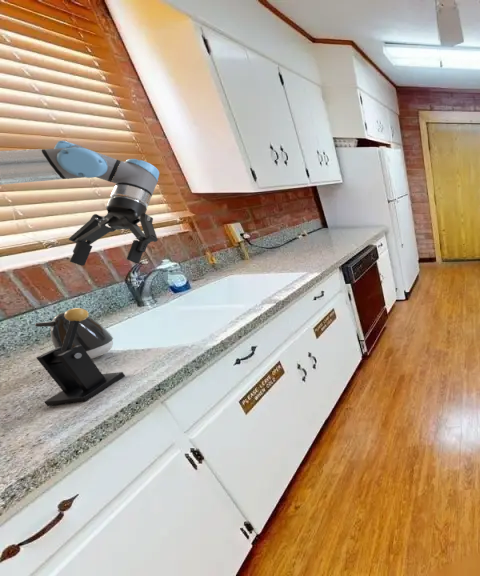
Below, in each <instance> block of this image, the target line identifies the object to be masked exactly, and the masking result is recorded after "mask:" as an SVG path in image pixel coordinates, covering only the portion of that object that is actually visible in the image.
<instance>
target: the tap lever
mask: <svg viewBox="0 0 480 576" xmlns="http://www.w3.org/2000/svg"><path fill="white" fill-rule="evenodd" d="M89 315H90V313H89V311H88V310H87V309H84V308H82V307H73V308H70V309H68V310H66V311H65V314H64V316H65V318H66V319H67V320H69V321H70V323H69V326H68V329H67V332H66V336H65V339H64V342H63V345H62V349H61V351H55V352H54V354H53V357H52V360H51V363H62V362H61V361H60V360H59V358H58V357H57V355H59V354H61V353H63V352H65V351H67V350H69V349H71V348H72V345H73V341H74V338H75V335H76V331H77V328H78V325H79V321H82V320H85V319H86V318H87V317H89Z"/></svg>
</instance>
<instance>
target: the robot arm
mask: <svg viewBox="0 0 480 576" xmlns="http://www.w3.org/2000/svg"><path fill="white" fill-rule="evenodd" d="M159 177H160V171H159V169H158V168H157V167H156V166H155V165H153V164H151V163H150V162H147V161H145V160H142V159H140V160H138V159H137V158H128V159H126V160H125V161H124V160H119V159H116V158H113V157H111V156H109V155H105V154H103V153H100V152H97V151H94V150H93V149H90V148H86V147H84V146H82V145H80V144H76V143H72V142H70V141H66V140H59V141H57V142H56V144H55V145H54V147H53V148H43V149H41V148H37V149H13V150H0V186H2V185H3V186H4V185H13V184H14V185H15V184H25V183H36V182H47V181H58V180H72V179H81V178H82V179H84V178H86V179H93V178H95V179H96V178H97V179H99V180H104V181H106V182H109V183H113V184H115V186H114V187H113V190H112V191H111V194H110V198H109V199H108V201H107V203H106V205H105V209H106V211H107V213H106V214H105V215H99V214H97V213H94V214H92V216H91V217H90V219H89V220H88V221H87V222H86V223H84V224H83V225H82V226H81V227H80V228H79V229H78V230H76V231H75V232H74V233H73V234H72V235H71V236H70V237H68V241H71V242H73V243H75V246H74V247H73V249H72V253H73V254H72V256H71V258H70V260H69V262H70V263H73V264H76V265H78V266H85V265H86V263H87V260H88V258H89V255H90V254H91V251H92V249H93V246H92V244H94V243H95V242H97V241H98V240H99V239H101V238H103V237H104V236H106V235H107V234H109V233H114V232H115V231H120V230H121V231H122V230H127V231H128V230H129V231H130V232H131V233H132V234H133V236H134V237H135V239H134V240H133V241H132V243H131V245H130V249H129V251H128V253H127V256H126V260H127V261H130V262H132V263H135V264H140V262H141V259H142V257H143V253H145V252H146V250H147V247H148V246H149V244H150V243H152V242H153V243H157V242H158V240H159V239H158V236H157V233H156V229H155V228H154V224H153V221H154V218H153V216H151V215H148V214H147V211H148V207H149V205H150V202H151V199H152V197H153V194H154V192H155V189H156V188H157V184H158V182H159ZM139 223H140V226H141V227H140V226H139V225H138V224H139ZM141 228H142V230H141Z"/></svg>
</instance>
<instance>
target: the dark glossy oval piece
mask: <svg viewBox="0 0 480 576" xmlns="http://www.w3.org/2000/svg"><path fill="white" fill-rule="evenodd" d="M65 312H66V311H65ZM65 312H61V313H59V314H56V315H55V316H54V317H53V318H52V320H50V321H42V322H35V323H34V326H35V328H36V327H37V328H39V327H50V338H51V342H52V344H53V346H54V349H55V348H57V347H62V345H63V342H64V339H65V336H66V332H67V329H68V326H69V323H70V321H69V320H67V319H66V318H65V316H64V314H65ZM113 339H114V337H113V335H112V334H111V333H110V332H109V331H108V330H107V329H106V328H105V327H104V326H103V325H101V324H100V323H99V322H97V321H96V320H95V319H93V318H91V317H89V316H88V317H87V318H86V319H85V320H82V321H79V325H78V328H77V331H76V335H75V338H74V341H73V345H72V348H73V347H75V346H79V345H82V347H83V348H84V350H85V351H86V352H87V354H88V355H89V357H90V358H91V359H92V360H93V359H95V358H98V357H101V356H103V355H105V354H107V353H108V352H109V351H110V350H111V349H112V347H113V345H114V340H113Z"/></svg>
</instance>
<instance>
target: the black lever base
mask: <svg viewBox="0 0 480 576" xmlns="http://www.w3.org/2000/svg"><path fill="white" fill-rule="evenodd" d="M61 349H62V347H57V348H55V347H54V348H52V349H51V350H49V351H47V352H44V353H43V354H40V355H39V356H37V357H36V360H37V361H38V362H39V363H40V365H41V366H42V367H43V368H44V370H45V371H46V372H47V373H48V374H49V377H51V378H52V379H53V380H54V382H55V383H56V384H57V386H58V387H59V388H60V389H61V391H60V392H58V393H56V394H54V395H53V396H51V397H49V398H48V399H46V400H44V401H43V403H44V404H45V405H46V406H47V407H53V406H54V407H55V406H63V405H64V406H65V405H71V404H80V403H86V402H88V401H89V400H91V399H93V398H94V397H96V396H97V395H99V394H100V393H102V392H103V391H105V390H106V389H108V388H109V387H111V386H113V385H114V384H116V383H118V381H120V380H122V379H123V378H124V377H126V375H125V373H124V372H123V371H118V372H117V371H116V372H109V373H108V372H107V373H102V372H101V371H100V369H99V368H98V366H97V365H96V363H95V362H94V360H93V358H92V359H91V358H90V357H89V355H88V354H87V352H86V351H85V350H84V348H83V347H82V345H79V346H75V347H73V348H71V349H69V350H67V351H65V352H63V353H61V354H59V355H57V357H58V358H59V360H60V361H61V362H62V363H51V360H52V357H53V354H54V352H55V351H61Z"/></svg>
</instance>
